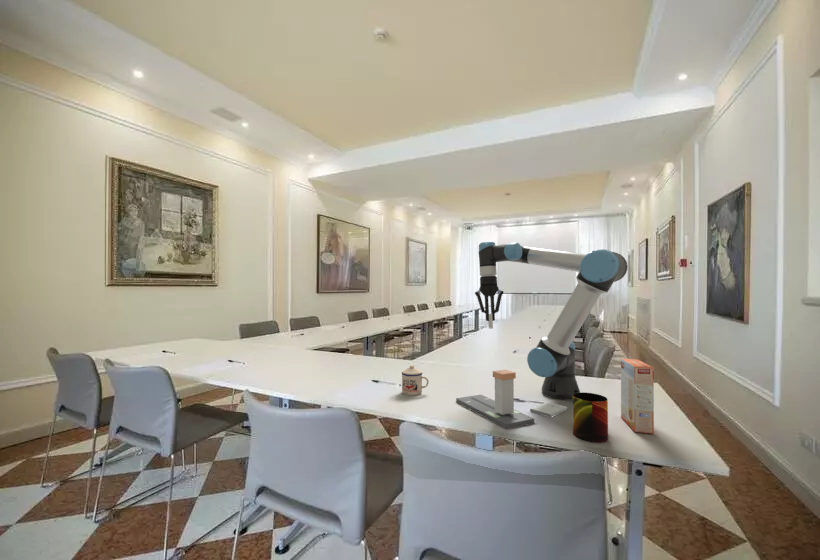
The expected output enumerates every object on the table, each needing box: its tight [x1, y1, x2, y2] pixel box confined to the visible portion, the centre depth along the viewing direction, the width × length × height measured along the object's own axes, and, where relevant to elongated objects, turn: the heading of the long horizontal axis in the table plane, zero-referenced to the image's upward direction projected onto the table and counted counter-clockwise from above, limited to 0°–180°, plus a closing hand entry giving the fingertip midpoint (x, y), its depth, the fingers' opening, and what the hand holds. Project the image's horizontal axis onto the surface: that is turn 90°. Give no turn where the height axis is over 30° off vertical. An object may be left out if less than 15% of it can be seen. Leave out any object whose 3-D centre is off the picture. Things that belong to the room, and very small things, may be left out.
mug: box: [572, 392, 609, 444], centre depth 112 cm, size 10×14×12 cm
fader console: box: [455, 394, 535, 430], centre depth 132 cm, size 30×12×2 cm, turn 25°
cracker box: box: [620, 358, 655, 435], centre depth 119 cm, size 14×6×21 cm, turn 164°
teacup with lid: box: [401, 364, 430, 396], centre depth 156 cm, size 12×9×12 cm
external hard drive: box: [529, 401, 568, 418], centre depth 133 cm, size 2×8×12 cm
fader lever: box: [492, 369, 517, 415], centre depth 126 cm, size 5×6×14 cm
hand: (490, 328), depth 161 cm, fingers closed
